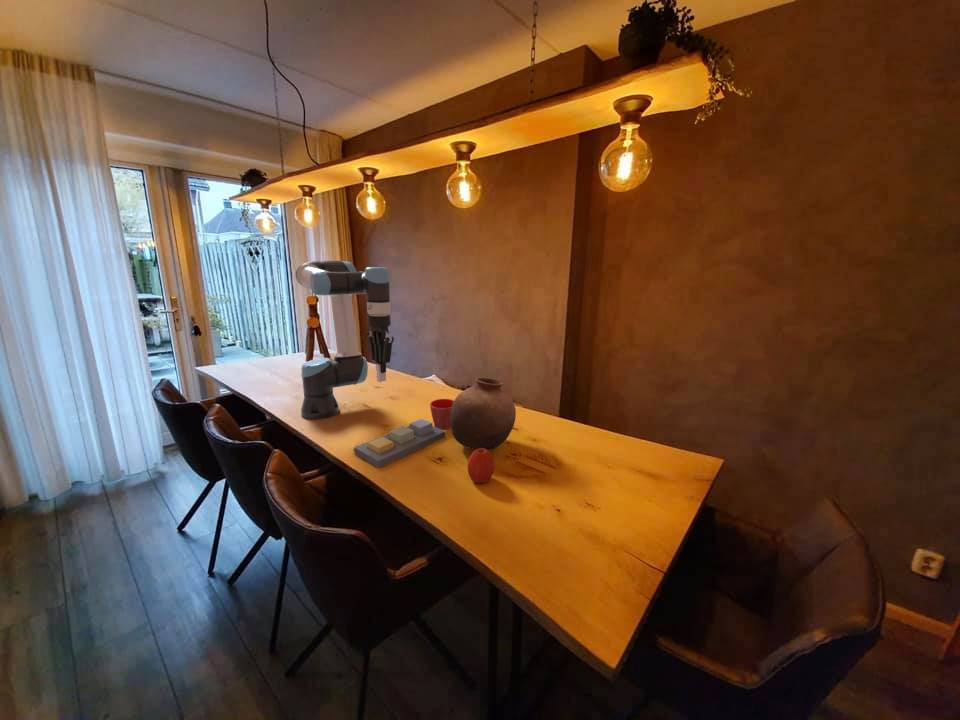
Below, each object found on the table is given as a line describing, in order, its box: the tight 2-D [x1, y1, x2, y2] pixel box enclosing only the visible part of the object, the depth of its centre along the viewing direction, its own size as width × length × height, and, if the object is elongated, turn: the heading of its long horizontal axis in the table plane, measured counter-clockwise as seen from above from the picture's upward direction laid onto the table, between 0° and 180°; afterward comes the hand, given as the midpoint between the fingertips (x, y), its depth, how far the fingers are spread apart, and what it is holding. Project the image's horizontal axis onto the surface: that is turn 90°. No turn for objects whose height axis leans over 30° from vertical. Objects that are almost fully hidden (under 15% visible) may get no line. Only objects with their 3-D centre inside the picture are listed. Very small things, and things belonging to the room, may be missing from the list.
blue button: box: [409, 418, 433, 436], centre depth 143 cm, size 6×6×4 cm
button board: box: [353, 425, 447, 469], centre depth 136 cm, size 14×30×2 cm, turn 140°
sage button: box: [389, 425, 414, 445], centre depth 136 cm, size 6×6×4 cm
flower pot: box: [429, 398, 455, 430], centre depth 153 cm, size 11×11×10 cm
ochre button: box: [367, 436, 394, 454], centre depth 129 cm, size 6×6×4 cm
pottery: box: [450, 377, 517, 451], centre depth 134 cm, size 23×23×25 cm
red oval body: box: [467, 448, 496, 484], centre depth 114 cm, size 8×8×11 cm
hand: (381, 380), depth 134 cm, fingers closed
